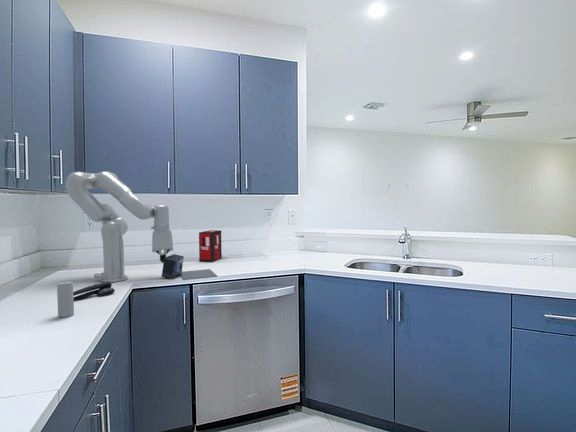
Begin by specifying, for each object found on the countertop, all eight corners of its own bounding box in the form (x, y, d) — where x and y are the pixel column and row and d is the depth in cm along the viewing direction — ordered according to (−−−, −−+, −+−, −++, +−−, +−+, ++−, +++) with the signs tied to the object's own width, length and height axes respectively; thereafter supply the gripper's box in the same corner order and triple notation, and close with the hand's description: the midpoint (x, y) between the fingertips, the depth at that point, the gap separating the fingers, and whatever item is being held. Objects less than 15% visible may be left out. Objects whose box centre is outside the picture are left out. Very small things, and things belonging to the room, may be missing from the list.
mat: (182, 279, 176) (182, 279, 176) (178, 272, 194) (178, 271, 194) (217, 276, 184) (217, 275, 184) (209, 269, 202) (209, 269, 202)
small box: (172, 279, 177) (174, 260, 176) (161, 276, 179) (163, 257, 177) (182, 274, 188) (184, 255, 186) (171, 271, 189) (173, 253, 188)
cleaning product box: (211, 262, 226) (211, 232, 225) (199, 262, 228) (198, 232, 227) (221, 258, 242) (221, 230, 241) (210, 258, 244) (209, 230, 243)
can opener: (109, 291, 155) (109, 279, 154) (116, 294, 150) (116, 281, 150) (65, 300, 141) (64, 287, 141) (71, 303, 137) (70, 290, 136)
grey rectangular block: (55, 316, 120) (53, 283, 120) (68, 312, 125) (67, 280, 124) (63, 318, 119) (62, 284, 118) (77, 314, 123) (76, 281, 122)
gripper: (146, 229, 174) (148, 264, 175) (177, 227, 180) (178, 262, 181) (146, 228, 180) (147, 262, 181) (175, 226, 187) (176, 259, 187)
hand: (163, 262), depth 181 cm, fingers closed
